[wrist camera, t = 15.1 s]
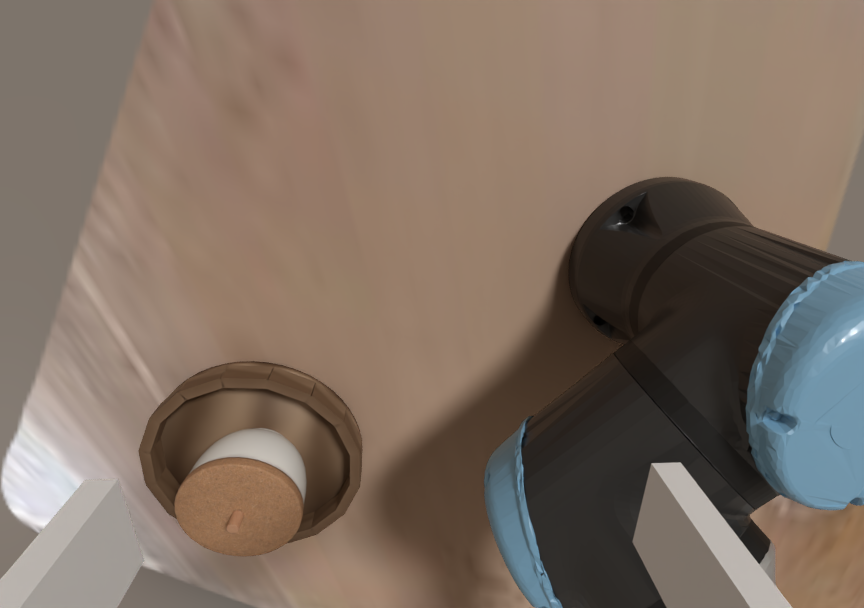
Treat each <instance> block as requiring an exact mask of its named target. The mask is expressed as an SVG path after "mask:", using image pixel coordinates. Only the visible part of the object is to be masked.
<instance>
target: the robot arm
mask: <svg viewBox="0 0 864 608" xmlns="http://www.w3.org/2000/svg"><path fill="white" fill-rule="evenodd" d="M569 284H570V289H571V293H572V296H573V298H574V301H575V303H576V305H577V306H578V308H579V310H580V311H581V312H582V314H583V315H584V316H585V317H586V318H587V319H588V321H589V322H590V323H591V324H592V325H593V326H594V327H595V328H596V329H597V330H598V331H600V332H601V333H602V334H604V335H605V336H607V337H609V338H610V339H612V340H615V341H617V342H620V343H622V344H624V345H623V346H622V347H621V348H619V349H618V350H617V351H616V352H614V353H612V354H611V355H610V356H609V357H607V358H606V359H605V360H604V361H603V362H601V363H600V364H599V365H598V366H596V367H595V368H594V369H593V370H592V371H590V372H589V373H588V374H587V375H586V376H584V377H583V378H582V379H581V380H579V381H578V382H577V383H576V384H574V385H573V386H572V387H571V388H569V389H568V390H567V391H565V392H564V393H563V394H562V395H560V396H559V397H558V398H557V399H555V400H554V401H553V402H551V403H550V404H549V405H548V406H546V407H545V408H544V409H543V410H541V411H540V412H539V413H537V414H536V415H535V416H529V417H527V418H526V419H525V420H524V421H523V422H522V423H521V425H520V427H519V429H518V430H517V431H515V432H514V433H513V434H512V435H511V436H510V437H509V438H508V439H507V440H505V441H504V442H503V443H502V444H501V445H500V446H499V447H498V448H497V449H496V450H495V451H494V452H493V453H492V455H491V456H490V458H489V460H488V463H487V465H486V469H485V478H484V486H485V492H484V495H485V496H484V497H485V505H486V510H487V514H488V519H489V522H490V526H491V529H492V532H493V535H494V538H495V541H496V543H497V546H498V548H499V551H500V553H501V555H502V557H503V559H504V562H505V564H506V566H507V568H508V570H509V572H510V573H511V575H512V577H513V579H514V581H515V582H516V584H517V586H518V587H519V589H520V590H521V592H522V593H523V595H524V596H525V597H526V599H527V600H528V601H529V602H530V604H531V605H532V606H533V607H536V608H792V607H791V605H790V604H789V603H788V601H787V600H786V599H785V598H784V596H783V595H782V594H781V592H780V591H779V590H778V588H777V586H776V583H775V546H774V544H773V543H772V542H771V540H770V539H769V538H768V537H767V536H766V535H765V534H764V533H763V532H762V531H761V530H760V528H759V527H758V526H757V525H756V524H755V523H754V522H753V520H752V519H751V518H750V514H751V513H752V512H754V511H755V510H757V509H758V508H759V507H761V506H762V505H764V504H765V503H767V502H769V501H770V500H772V499H773V498H775V497H776V496H779V495H780V494H781V495H782V496H783V497H785V498H789V499H791V500H793V501H796V502H798V503H800V504H802V505H805V506H807V507H810V508H815V509H823V510H841V509H844V508H845V507H846V506H847V505H848V503H851V504H853V505H856V506H857V505H860V506H861V505H864V262H859V261H850V260H847V259H844V258H841V257H839V256H836V255H833V254H830V253H827V252H825V251H822V250H819V249H816V248H813V247H810V246H807V245H805V244H802V243H799V242H796V241H793V240H790V239H787V238H785V237H782V236H779V235H776V234H773V233H770V232H767V231H765V230H761V229H758V228H755V227H754V226H753V225H752V224H751V223H750V222H749V220H748V219H747V218H746V217H745V216H744V215H743V214H742V213H741V212H740V211H739V209H738V208H737V207H736V205H735V204H734V203H733V202H732V201H731V200H730V199H729V198H728V197H726V196H725V195H724V194H722V193H721V192H719V191H717V190H716V189H714V188H712V187H710V186H707V185H705V184H701V183H698V182H694V181H691V180H687V179H683V178H676V177H660V178H653V179H648V180H644V181H641V182H638V183H635V184H633V185H630V186H628V187H626V188H624V189H622V190H620V191H619V192H617V193H615V194H614V195H613V196H611V197H610V198H608V199H607V200H606V201H605V202H604V203H602V204H601V205H600V206H599V207H598V208H597V209H596V210H595V211H594V212H593V214H592V215H591V216H590V217H589V218H588V220H587V221H586V223H585V224H584V226H583V227H582V229H581V231H580V232H579V234H578V236H577V238H576V241H575V243H574V246H573V249H572V252H571V256H570V262H569ZM143 562H144V558H143V555H142V552H141V549H140V546H139V542H138V539H137V536H136V533H135V530H134V527H133V524H132V520H131V517H130V514H129V511H128V508H127V505H126V502H125V498H124V495H123V492H122V489H121V486H120V483H119V480H118V479H100V480H85V481H84V482H83V483H82V484H81V485H80V487H79V488H78V489H77V490H76V491H75V492H74V494H73V495H72V496H71V497H70V498H69V500H68V501H67V502H66V503H65V504H64V505H63V507H62V508H61V509H60V510H59V511H58V512H57V514H56V515H55V516H54V517H53V518H52V520H51V521H50V522H49V523H48V524H47V525H46V527H45V528H44V529H43V530H42V531H41V532H40V534H39V535H38V536H37V537H36V538H35V540H34V541H33V542H32V543H31V544H30V545H29V547H28V548H27V549H26V550H25V551H24V553H23V554H22V555H21V556H20V557H19V558H18V560H17V561H16V562H15V563H14V564H13V565H12V567H11V568H10V569H9V570H8V571H7V573H6V574H5V575H4V576H3V577H2V578H1V580H0V608H118V606H119V604H120V602H121V600H122V599H123V597H124V595H125V594H126V592H127V590H128V588H129V586H130V585H131V583H132V581H133V579H134V578H135V576H136V574H137V572H138V571H139V569H140V567H141V565H142V564H143Z"/></svg>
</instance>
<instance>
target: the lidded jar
mask: <svg viewBox="0 0 864 608" xmlns="http://www.w3.org/2000/svg"><path fill="white" fill-rule="evenodd" d="M306 484H307V479H306V469H305V466H304V462H303V459H302V457H301V455H300V453H299V452H298V450H297V449H296V447H295V446H294V445H293V444H292V443H291V442H290V441H289V440H288V439H286V438H285V437H284V436H283V435H281V434H280V433H278V432H276V431H274V430H271V429H266V428H253V429H243V430H239V431H236V432H233V433H230V434H228V435H226V436H224V437H222V438H221V439H219V440H218V441H216V442H215V443H214V444H213V445H212V446H210V447H209V448H208V449H207V450H206V451H205V452H204V453H203V454H202V456H201V457H200V458H199V459H198V461H197V462H196V464H195V465H194V466H193V468H192V470H191V471H190V473H189V474H188V476H187V477H186V478H185V480H184V481H183V482H182V484H181V486H180V487H179V489H178V492H177V494H176V497H175V503H174V506H175V514H176V517H177V520H178V522H179V524H180V526H181V527H182V529H183V530H184V531H185V533H186V534H187V535H188V536H189V537H190V538H191V539H193V540H194V541H196V542H197V543H198V544H200V545H202V546H204V547H205V548H207V549H210V550H212V551H215V552H218V553H222V554H226V555H232V556H254V555H261V554H264V553H268V552H271V551H273V550H276V549H278V548H279V547H281V546H283V545H284V544H286V543H287V542H288V541H289V540H290V539H291V538H292V537H293V536H294V535H295V534H296V532H297V530H298V529H299V527H300V524H301V521H302V517H303V509H304V502H305V496H306Z"/></svg>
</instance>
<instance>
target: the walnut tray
mask: <svg viewBox="0 0 864 608" xmlns="http://www.w3.org/2000/svg"><path fill="white" fill-rule="evenodd" d="M253 428H266V429H271V430H274V431H276V432H278V433H280V434H281V435H283V436H284V437H285V438H286V439H288V440H289V441H290V442H291V443H292V444H293V445H294V446H295V447H296V449H297V450H298V452H299V453H300V455H301V457H302V459H303V462H304V466H305V469H306V479H307V484H306V496H305V502H304V509H303V517H302V521H301V524H300V527H299V529H298V530H297V532H296V534H295V535H294V536H293V537H292V538H291V539H290V540H289V541H288V542H287V543H290V542H293V541H297V540H300V539H303V538H307V537H310V536H313V535H316V534H318V533H319V532H321V531H322V530H323V529H325V528H326V527H328V526H329V525H330V524H332V523H333V522H334V521H336V520H337V519H338V518H340V517H341V516H343V515H344V514H345V512H346V510H347V509H348V507H349V505H350V503H351V501H352V500H353V498H354V496H355V494H356V493H357V491H358V489H359V487H360V481H361V472H362V438H361V434H360V430H359V427H358V425H357V422H356V420H355V418H354V416H353V414H352V413H351V411H350V409H349V408H348V407H347V405H346V404H345V403H344V402H343V400H342V399H341V398H340V397H339V396H338V395H337V394H336V393H335V392H334V391H333V390H331V389H330V388H329V387H327V386H326V385H325V384H323V383H322V382H320V381H318V380H317V379H315V378H313V377H312V376H310V375H308V374H305V373H303V372H301V371H298V370H296V369H293V368H289V367H286V366H283V365H278V364H273V363H266V362H254V361H252V362H234V363H227V364H223V365H219V366H215V367H211V368H209V369H206V370H204V371H201V372H199V373H197V374H196V375H194V376H192V377H190V378H189V379H187V380H186V381H184V382H183V383H182V384H181V385H179V386H178V387H177V388H176V389H175V390H174V391H173V392H172V394H171V395H170V396H169V397H168V398H166V399H165V400H164V401H163V402H162V403H161V404H160V405H159V407H158V408H157V409H156V410H155V412H154V413H153V414H152V416H151V417H150V418H149V421H148V424H147V427H146V430H145V433H144V436H143V439H142V442H141V445H140V448H139V456H140V460H141V465H142V469H143V474H144V479H145V483H146V486H147V487H148V488H149V489H150V491H151V492H152V493H153V494H154V496H155V497H156V498H157V500H158V501H159V502H160V503H161V505H162V506H163V507H164V509H165V510H166V511H167V512H168V513H169V514H170V515H171V516H173V517H175V518H176V519H177V517H176V514H175V506H174V503H175V497H176V494H177V492H178V489H179V487H180V486H181V484H182V482H183V481H184V480H185V478H186V477H187V476H188V474H189V473H190V471H191V470H192V468H193V466H194V465H195V464H196V462H197V461H198V459H199V458H200V457H201V456H202V454H203V453H204V452H205V451H206V450H207V449H208V448H209V447H210V446H212V445H213V444H214V443H215V442H216V441H218V440H219V439H221V438H222V437H224V436H226V435H228V434H230V433H233V432H236V431H239V430H243V429H253ZM287 543H286V544H287Z"/></svg>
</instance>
